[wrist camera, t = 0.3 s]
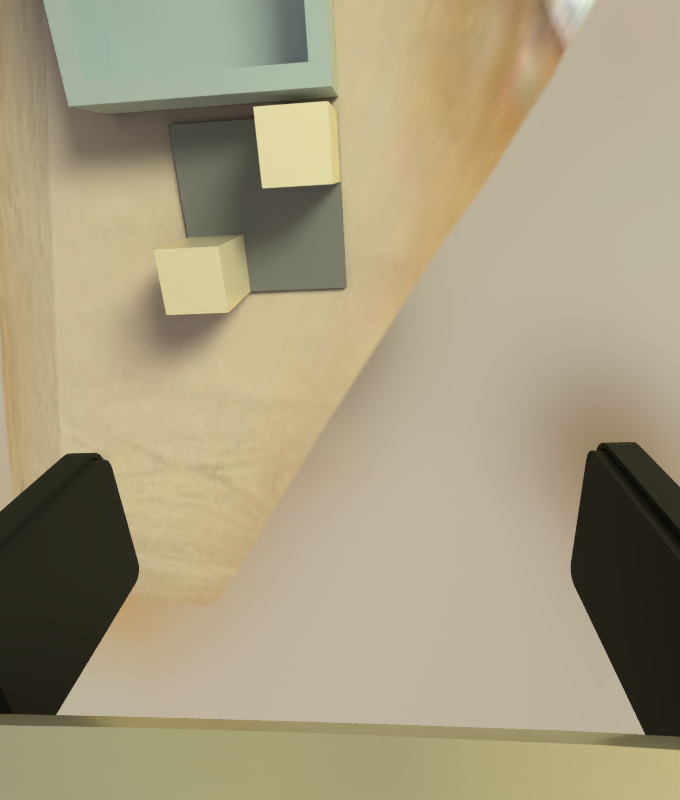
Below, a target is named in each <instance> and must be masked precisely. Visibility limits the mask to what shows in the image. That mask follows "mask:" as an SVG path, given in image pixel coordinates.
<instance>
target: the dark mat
mask: <svg viewBox="0 0 680 800" xmlns="http://www.w3.org/2000/svg"><path fill="white" fill-rule="evenodd" d="M337 121H338V115H337ZM168 126H169V132H170V138H171V143H172V149H173V155H174V161H175V167H176V172H177V178H178V184H179V190H180V196H181V201H182V207H183V213H184V219H185V225H186V230H187V236H188V237H205V236H224V235H243V237H244V244H245V252H246V260H247V268H248V275H249V283H250V291H251V292H254V291H278V290H302V289H325V288H346V270H345V250H344V231H343V212H342V192H341V182H338V183H335V184H326V185H310V186H293V187H277V188H262V183H261V174H260V164H259V155H258V146H257V137H256V128H255V119H244V120H230V121H216V122H203V123H189V124H175V125H168ZM338 141H339V134H338ZM339 160H340V153H339ZM340 179H341V173H340Z"/></svg>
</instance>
